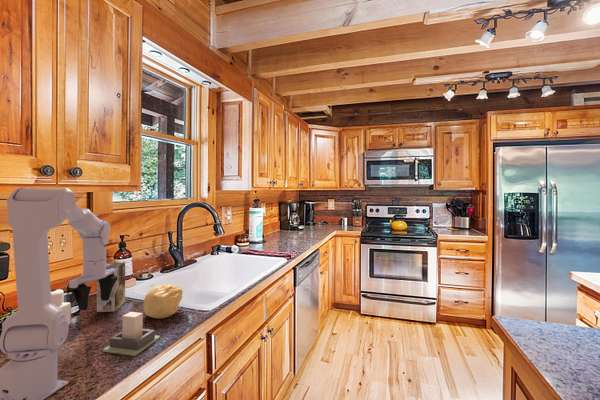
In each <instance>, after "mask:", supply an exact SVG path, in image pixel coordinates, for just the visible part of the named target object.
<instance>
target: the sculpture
mask: <svg viewBox="0 0 600 400" xmlns="http://www.w3.org/2000/svg"><path fill="white" fill-rule="evenodd" d="M182 299H183V289H182V288H180V287H179V286H178V285H173V284H169V283H165V284H162V285H157V286H155V287H153V288H152V289H150V290H149V291H148V292H147V294H146V295H145V296H144V299H143V310H144V313H145V314H146V316H148V317H150V318H153V319H167V318H170V317H172V315H174V314H175V313H176V312H177V311H178V308H179V306H180V303H181V301H182Z"/></svg>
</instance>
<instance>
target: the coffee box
mask: <svg viewBox="0 0 600 400" xmlns="http://www.w3.org/2000/svg"><path fill="white" fill-rule="evenodd" d="M111 268H114V269H117V275H114V276H117V281H116V282H115V284H114V286H113V288H112V291H111V294H110V297H109V300H108V301H104V300H101V290H100V284H99V281H98V280H96V312H97V313H105V312H116V311H117V310H119V308H121V307H122V306H123V304H125V303H126V261H125V262H115V261H114V262H113V261H111V262H106V270H107V269H111Z"/></svg>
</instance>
